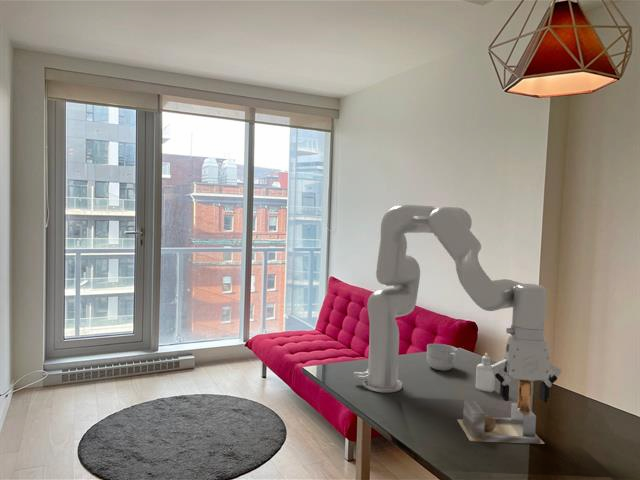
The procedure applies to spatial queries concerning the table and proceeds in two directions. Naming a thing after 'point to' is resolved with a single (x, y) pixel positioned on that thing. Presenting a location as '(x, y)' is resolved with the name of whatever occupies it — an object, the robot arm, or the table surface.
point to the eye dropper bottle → (485, 375)
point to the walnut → (489, 423)
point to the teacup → (441, 356)
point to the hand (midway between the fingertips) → (524, 399)
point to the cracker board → (501, 432)
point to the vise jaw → (523, 411)
